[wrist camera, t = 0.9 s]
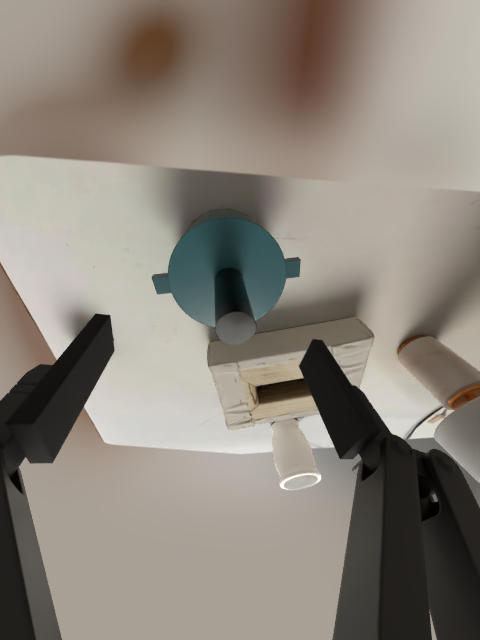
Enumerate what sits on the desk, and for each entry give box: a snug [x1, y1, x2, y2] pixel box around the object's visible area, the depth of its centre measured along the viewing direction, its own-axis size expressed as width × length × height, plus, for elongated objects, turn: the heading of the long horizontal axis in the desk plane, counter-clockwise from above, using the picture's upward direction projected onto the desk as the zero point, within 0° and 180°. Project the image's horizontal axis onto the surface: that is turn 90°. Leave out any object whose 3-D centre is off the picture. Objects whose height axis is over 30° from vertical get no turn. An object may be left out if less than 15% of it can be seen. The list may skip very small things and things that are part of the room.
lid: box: [168, 217, 286, 345], centre depth 23 cm, size 15×15×11 cm
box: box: [207, 317, 374, 430], centre depth 48 cm, size 23×8×32 cm
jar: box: [271, 418, 321, 490], centre depth 60 cm, size 11×10×15 cm
